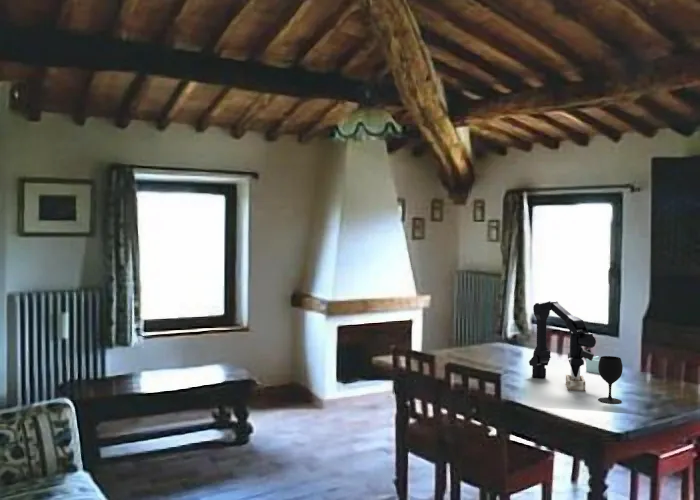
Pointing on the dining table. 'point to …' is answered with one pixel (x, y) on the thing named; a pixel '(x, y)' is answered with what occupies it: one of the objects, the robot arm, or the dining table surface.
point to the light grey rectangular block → (574, 376)
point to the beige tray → (575, 383)
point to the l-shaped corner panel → (592, 365)
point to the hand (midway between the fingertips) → (575, 375)
